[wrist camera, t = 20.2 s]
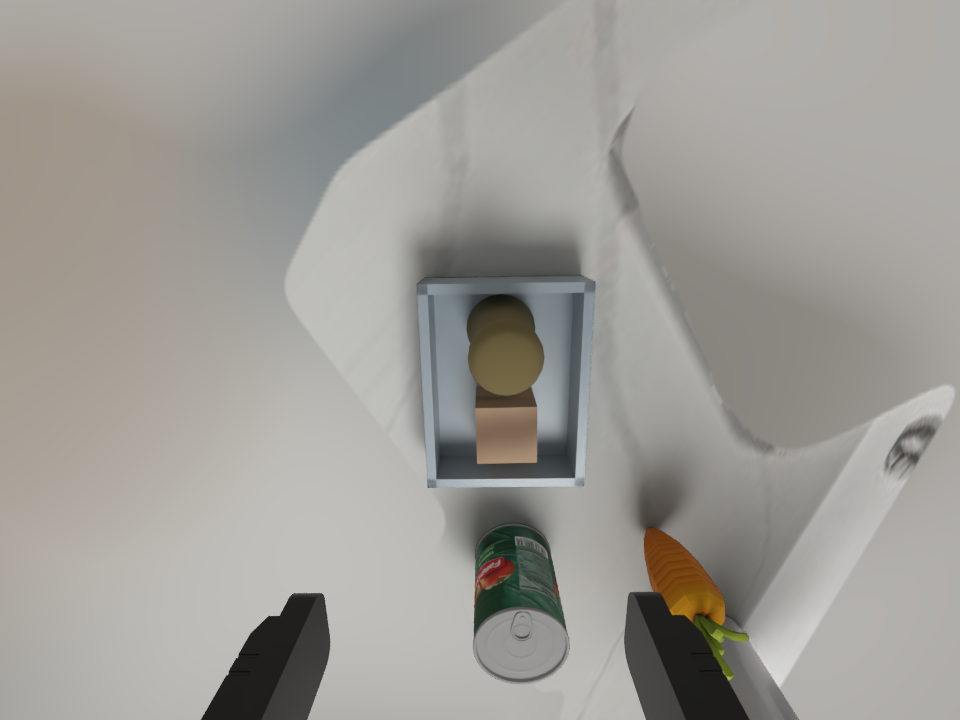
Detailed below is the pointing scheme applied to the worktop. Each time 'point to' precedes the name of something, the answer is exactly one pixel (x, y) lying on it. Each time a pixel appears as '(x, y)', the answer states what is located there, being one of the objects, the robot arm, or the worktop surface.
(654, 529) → the carrot
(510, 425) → the walnut cube
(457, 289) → the tote
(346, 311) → the worktop surface
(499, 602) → the canned tomato
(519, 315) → the cork
